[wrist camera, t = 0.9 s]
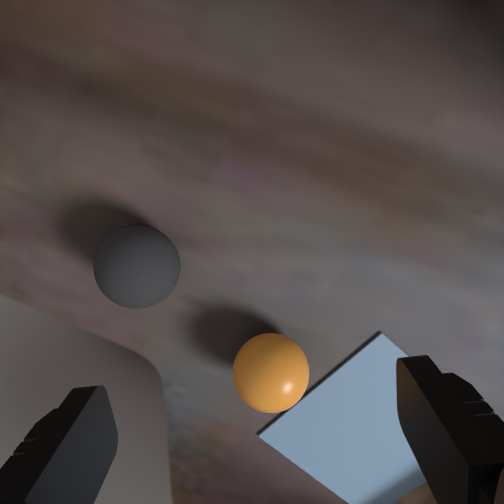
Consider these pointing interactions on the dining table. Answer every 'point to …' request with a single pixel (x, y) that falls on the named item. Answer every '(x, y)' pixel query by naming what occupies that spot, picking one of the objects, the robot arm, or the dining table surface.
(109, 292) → the dark gray ball
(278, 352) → the orange ball
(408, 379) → the robot arm
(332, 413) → the light blue square plate
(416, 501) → the oak rail
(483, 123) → the dining table surface
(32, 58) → the dining table surface
